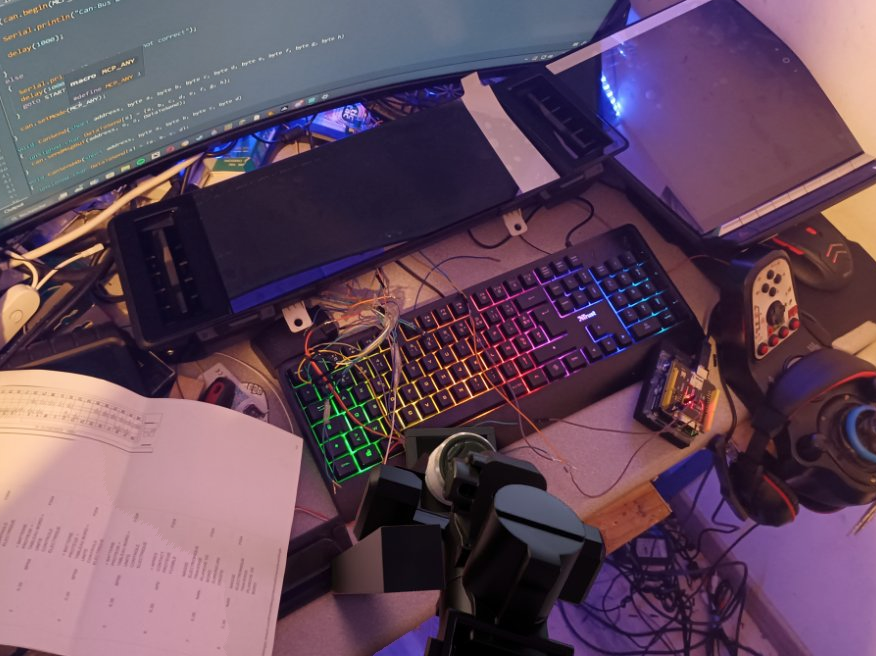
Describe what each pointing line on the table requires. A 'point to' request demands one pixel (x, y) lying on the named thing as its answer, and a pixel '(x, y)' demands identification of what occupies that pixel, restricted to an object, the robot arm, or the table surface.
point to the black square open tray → (427, 443)
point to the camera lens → (445, 453)
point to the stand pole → (392, 562)
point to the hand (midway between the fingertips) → (474, 472)
